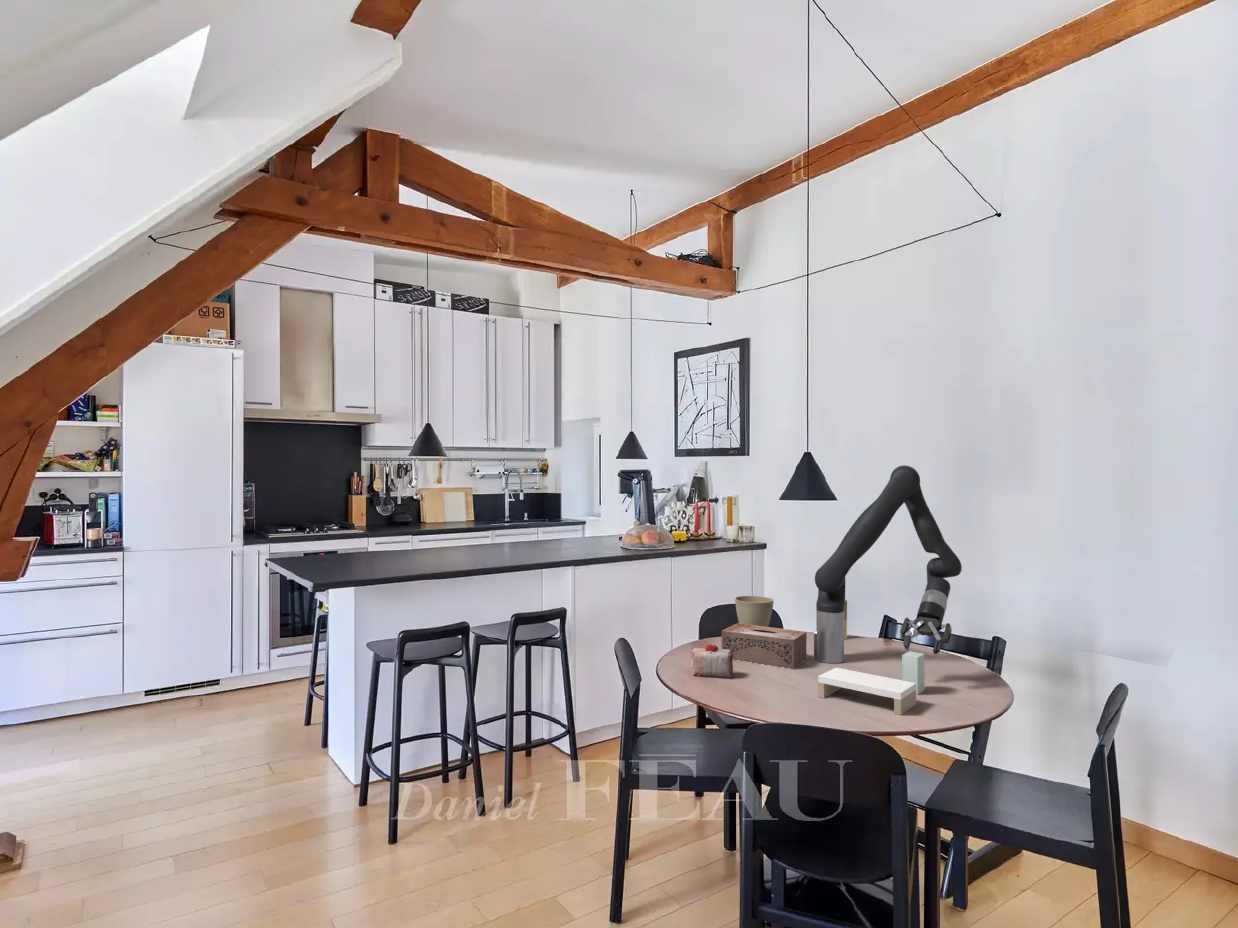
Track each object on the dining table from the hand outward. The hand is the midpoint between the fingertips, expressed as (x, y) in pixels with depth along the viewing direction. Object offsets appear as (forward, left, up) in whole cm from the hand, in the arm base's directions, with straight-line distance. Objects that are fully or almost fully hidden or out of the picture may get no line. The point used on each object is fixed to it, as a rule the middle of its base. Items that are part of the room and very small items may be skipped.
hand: (920, 650), depth 222 cm
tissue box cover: (-52, -4, -12) cm, 54 cm away
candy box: (-46, +40, -11) cm, 62 cm away
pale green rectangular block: (0, -6, -11) cm, 13 cm away
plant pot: (-69, +18, -11) cm, 72 cm away
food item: (-55, -32, -11) cm, 65 cm away
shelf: (-7, -24, -11) cm, 27 cm away
